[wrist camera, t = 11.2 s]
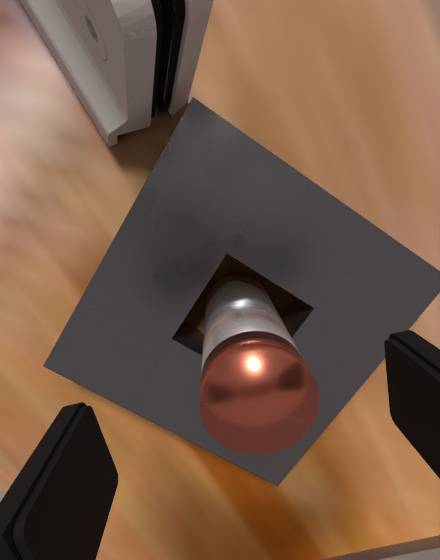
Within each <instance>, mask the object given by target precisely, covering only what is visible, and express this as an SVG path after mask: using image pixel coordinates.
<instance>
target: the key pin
mask: <svg viewBox="0 0 440 560" xmlns="http://www.w3.org/2000/svg"><path fill="white" fill-rule="evenodd" d="M318 409H319V391H318V387H317V384H316V382H315V380H314V378H313V376H312V374H311V372H310V370H309V369H308V367H307V365H306V363H305V361H304V360H303V358H302V356H301V354H300V352H299V351H298V349H297V347H296V345H295V343H294V342H293V340H292V338H291V336H290V334H289V332H288V331H287V329H286V327H285V325H284V323H283V322H282V320H281V318H280V316H279V314H278V313H277V311H276V309H275V307H274V305H273V304H272V302H271V300H270V298H269V296H268V294H267V293H266V291H265V289H264V288H263V286H262V285H261V284H260V283H259V282H258V281H256V280H255V279H253V278H251V277H248V276H244V275H232V276H228V277H225V278H223V279H221V280H219V281H218V282H217V283H216V284H215V285H214V286H213V287H212V288H211V290H210V291H209V293H208V296H207V300H206V310H205V325H204V340H203V355H202V369H201V384H200V399H199V410H200V416H201V419H202V422H203V424H204V426H205V428H206V430H207V431H208V432H209V434H210V435H211V436H212V437H213V438H214V439H215V440H216V441H217V442H218V443H220V444H221V445H223V446H224V447H226V448H228V449H230V450H233V451H235V452H239V453H243V454H249V455H264V454H271V453H275V452H278V451H281V450H284V449H286V448H288V447H290V446H292V445H293V444H295V443H296V442H298V441H299V440H300V439H301V438H302V437H303V436H304V435H305V434H306V433H307V432H308V431H309V429H310V428H311V427H312V425H313V423H314V421H315V419H316V416H317V414H318Z"/></svg>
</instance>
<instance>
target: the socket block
mask: <svg viewBox="0 0 440 560" xmlns="http://www.w3.org/2000/svg"><path fill="white" fill-rule="evenodd" d="M226 254H229V255H230V256H232V257H234V258H235V259H237V260H238V261H240V262H242V263H243V264H245V265H246V266H248V267H249V268H251V269H253V270H254V271H256V272H257V273H259V274H261V275H262V276H264V277H265V278H267V279H269V280H270V281H272V282H273V283H275V284H276V285H278V286H280V287H281V288H283V289H284V290H286V291H288V292H289V293H291V294H292V295H294V296H296V298H295V299H294V300H293V302H292V303H291V305H290V306H289V307H288V309H287V310H286V311H285V313H284V314H283V316H282V317H281V320H282V322H283V323H284V325H285V327H286V329H287V331H288V332H289V334H290V336H291V338H292V340H293V342H294V343H295V345H296V347H297V349H298V351H299V352H300V354H301V356H302V358H303V360H304V361H305V363H306V365H307V367H308V369H309V370H310V372H311V374H312V376H313V378H314V380H315V382H316V384H317V387H318V391H319V409H318V414H317V416H316V419H315V421H314V423H313V425H312V427H311V428H310V429H309V431H308V432H307V433H306V434H305V435H304V436H303V437H302V438H301V439H300V440H299V441H298V442H296V443H295V444H293V445H292V446H290V447H288V448H286V449H284V450H281V451H278V452H275V453H271V454H264V455H249V454H243V453H239V452H235V451H233V450H230V449H228V448H226V447H224V446H223V445H221V444H220V443H218V442H217V441H216V440H215V439H214V438H213V437H212V436H211V435H210V434H209V432H208V431H207V430H206V428H205V426H204V424H203V422H202V419H201V416H200V410H199V399H200V384H201V369H202V355H203V340H204V333H202V332H200V331H198V330H197V329H195V328H193V327H191V326H190V325H188V324H186V323H185V322H183V320H184V319H185V317H186V316H187V314H188V313H189V311H190V310H191V308H192V306H193V305H194V303H195V302H196V300H197V299H198V297H199V296H200V294H201V293H202V291H203V290H204V288H205V286H206V285H207V283H208V282H209V280H210V279H211V277H212V276H213V274H214V273H215V271H216V270H217V268H218V266H219V265H220V263H221V262H222V260H223V259H224V257H225V256H226ZM439 293H440V271H439V270H437V269H436V268H434V267H433V266H432V265H430V264H429V263H427V262H426V261H425V260H423V259H422V258H420V257H419V256H417V255H416V254H415V253H413V252H412V251H410V250H409V249H408V248H406V247H405V246H403V245H402V244H400V243H399V242H398V241H396V240H395V239H393V238H392V237H391V236H389V235H388V234H386V233H385V232H383V231H382V230H381V229H379V228H378V227H376V226H375V225H373V224H372V223H371V222H369V221H368V220H366V219H365V218H364V217H362V216H361V215H359V214H358V213H356V212H355V211H354V210H352V209H351V208H349V207H348V206H347V205H345V204H344V203H342V202H341V201H339V200H338V199H337V198H335V197H334V196H332V195H331V194H330V193H328V192H327V191H325V190H324V189H322V188H321V187H320V186H318V185H317V184H315V183H314V182H312V181H311V180H310V179H308V178H307V177H305V176H304V175H303V174H301V173H300V172H298V171H297V170H295V169H294V168H293V167H291V166H290V165H288V164H287V163H286V162H284V161H283V160H281V159H280V158H278V157H277V156H276V155H274V154H273V153H271V152H270V151H269V150H267V149H266V148H264V147H263V146H261V145H260V144H259V143H257V142H256V141H254V140H253V139H252V138H250V137H249V136H247V135H246V134H244V133H243V132H242V131H240V130H239V129H237V128H236V127H234V126H233V125H232V124H230V123H229V122H227V121H226V120H225V119H223V118H222V117H220V116H219V115H217V114H216V113H215V112H213V111H212V110H210V109H209V108H208V107H206V106H205V105H203V104H202V103H200V102H199V101H198V100H196V99H195V98H192V100H191V101H190V103H189V105H188V107H187V109H186V110H185V112H184V114H183V116H182V118H181V119H180V121H179V123H178V125H177V127H176V128H175V130H174V132H173V134H172V136H171V137H170V139H169V141H168V143H167V145H166V146H165V148H164V150H163V152H162V154H161V155H160V157H159V159H158V161H157V163H156V164H155V166H154V168H153V170H152V172H151V173H150V175H149V177H148V179H147V181H146V182H145V184H144V186H143V188H142V190H141V191H140V193H139V195H138V197H137V198H136V200H135V202H134V204H133V206H132V207H131V209H130V211H129V213H128V215H127V216H126V218H125V220H124V222H123V224H122V225H121V227H120V229H119V231H118V233H117V234H116V236H115V238H114V240H113V242H112V243H111V245H110V247H109V249H108V251H107V252H106V254H105V256H104V258H103V260H102V261H101V263H100V265H99V267H98V269H97V270H96V272H95V274H94V276H93V278H92V279H91V281H90V283H89V285H88V287H87V288H86V290H85V292H84V294H83V296H82V297H81V299H80V301H79V303H78V305H77V306H76V308H75V310H74V312H73V314H72V315H71V317H70V319H69V321H68V323H67V324H66V326H65V328H64V330H63V331H62V333H61V335H60V337H59V339H58V340H57V342H56V344H55V346H54V348H53V349H52V351H51V353H50V355H49V357H48V358H47V360H46V362H45V364H44V367H46V368H48V369H50V370H52V371H54V372H56V373H57V374H59V375H61V376H63V377H65V378H67V379H69V380H71V381H73V382H75V383H77V384H79V385H81V386H83V387H85V388H87V389H89V390H91V391H93V392H95V393H97V394H99V395H101V396H103V397H104V398H106V399H108V400H110V401H112V402H114V403H116V404H118V405H120V406H122V407H124V408H126V409H128V410H130V411H132V412H134V413H136V414H138V415H140V416H142V417H144V418H146V419H148V420H150V421H151V422H153V423H155V424H157V425H159V426H161V427H163V428H165V429H167V430H169V431H171V432H173V433H175V434H177V435H179V436H181V437H183V438H185V439H187V440H189V441H191V442H193V443H195V444H197V445H198V446H200V447H202V448H204V449H206V450H208V451H210V452H212V453H214V454H216V455H218V456H220V457H222V458H224V459H226V460H228V461H230V462H232V463H234V464H236V465H238V466H240V467H242V468H244V469H245V470H247V471H249V472H251V473H253V474H255V475H257V476H259V477H261V478H263V479H265V480H267V481H269V482H271V483H273V484H275V485H277V486H278V485H279V484H280V483H281V482H282V480H283V479H284V478H285V477H286V476H287V474H288V473H289V472H290V471H291V470H292V468H293V467H294V466H295V465H296V464H297V462H298V461H299V460H300V459H301V458H302V456H303V455H304V454H305V453H306V452H307V450H308V449H309V448H310V447H311V446H312V444H313V443H314V442H315V441H316V440H317V438H318V437H319V436H320V435H321V434H322V432H323V431H324V430H325V429H326V428H327V426H328V425H329V424H330V423H331V422H332V421H333V419H334V418H335V417H336V416H337V415H338V413H339V412H340V411H341V410H342V409H343V407H344V406H345V405H346V404H347V403H348V401H349V400H350V399H351V398H352V397H353V395H354V394H355V393H356V392H357V391H358V389H359V388H360V387H361V386H362V385H363V383H364V382H365V381H366V380H367V379H368V377H369V376H370V375H371V374H372V373H373V371H374V370H375V369H376V368H377V367H378V365H379V364H380V363H381V362H382V361H383V359H384V358H385V347H384V342H385V340H388V339H389V335H390V334H393V333H397V332H402V331H406V330H409V328H410V327H411V326H412V325H413V324H414V322H415V321H416V320H417V319H418V318H419V316H420V315H421V314H422V313H423V312H424V310H425V309H426V308H427V307H428V306H429V304H430V303H431V302H432V301H433V300H434V298H435V297H436V296H437V295H438V294H439Z"/></svg>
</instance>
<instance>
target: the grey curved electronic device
mask: <svg viewBox="0 0 440 560" xmlns="http://www.w3.org/2000/svg"><path fill="white" fill-rule="evenodd" d="M19 1H20V2H21V4H22V6H23V7H24V9H25V11H26V12H27V14H28V16H29V17H30V19H31V21H32V22H33V24H34V26H35V27H36V29H37V30H38V32H39V34H40V35H41V37H42V39H43V40H44V42H45V44H46V45H47V47H48V49H49V50H50V52H51V53H52V55H53V57H54V58H55V60H56V62H57V63H58V65H59V67H60V68H61V70H62V72H63V73H64V75H65V77H66V78H67V80H68V81H69V83H70V85H71V86H72V88H73V90H74V91H75V93H76V95H77V96H78V98H79V100H80V101H81V103H82V105H83V106H84V108H85V109H86V111H87V113H88V114H89V116H90V118H91V119H92V121H93V123H94V124H95V126H96V128H97V129H98V131H99V132H100V134H101V136H102V137H103V139H104V141H105V142H106V144H107V146H108V147H111V146H114V145H116V144H117V136H118V135H121V134H125V133H129V132H132V131H136V130H140V129H144V128H148V127H150V124H151V117H154V116H155V107H156V102H157V103H158V105H159V107H160V109H161V111H162V112H164V111H166V110H168V111H169V113H170V115H171V116H172V115H174V114H175V113H176V112H177V111H178V110H180V109H181V108H182V107H183V106H184V105H185V104H186V103H187V101H188V97H189V94H190V90H191V86H192V82H193V78H194V74H195V70H196V67H197V63H198V59H199V55H200V51H201V47H202V43H203V39H204V36H205V32H206V28H207V24H208V20H209V16H210V12H211V8H212V4H213V0H19Z"/></svg>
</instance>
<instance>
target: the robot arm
mask: <svg viewBox="0 0 440 560" xmlns="http://www.w3.org/2000/svg"><path fill="white" fill-rule="evenodd" d="M384 347H385V359H386V371H387V382H388V394H389V406H390V414H391V417H392V419H393V421H394V423H395V425H396V426H397V427H398V428H399V430H400V431H401V432H402V433H403V434H404V436H405V437H406V438H407V439H408V441H409V442H410V443H411V444H412V445H413V447H414V448H415V449H416V450H417V452H418V453H419V454H420V455H421V456H422V458H423V459H424V460H425V461H426V462H427V464H428V465H429V466H430V467H431V469H432V470H433V471H434V472H435V473H436V475H437V476H438V477H439V478H440V349H438V348H437V347H435V346H434V345H432V344H431V343H429V342H428V341H426V340H425V339H423V338H422V337H421V336H419V335H418V334H416V333H415V332H413V331H411V330H406V331H402V332H397V333H393V334H390V335H389V339H388V340H385V342H384ZM117 484H118V473H117V470H116V467H115V465H114V462H113V460H112V457H111V455H110V452H109V450H108V447H107V444H106V442H105V439H104V437H103V434H102V432H101V429H100V426H99V424H98V421H97V419H96V416H95V414H94V411H93V409H92V407H91V406H86V404H85V403H83V402H82V403H77V404H73V405H68V406H65V407H63V408H62V409H61V411H60V412H59V414H58V415H57V417H56V418H55V420H54V421H53V423H52V424H51V426H50V427H49V429H48V430H47V432H46V433H45V435H44V436H43V438H42V440H41V441H40V443H39V444H38V446H37V447H36V449H35V450H34V452H33V453H32V455H31V456H30V458H29V459H28V461H27V462H26V464H25V465H24V467H23V468H22V470H21V472H20V473H19V475H18V476H17V478H16V479H15V481H14V482H13V484H12V485H11V487H10V488H9V490H8V491H7V493H6V494H5V496H4V497H3V499H2V501H1V502H0V560H95V559H96V556H97V553H98V549H99V546H100V542H101V539H102V536H103V532H104V529H105V525H106V522H107V519H108V515H109V512H110V509H111V505H112V502H113V498H114V495H115V492H116V488H117ZM322 560H440V535H439V536H434V537H429V538H424V539H419V540H414V541H409V542H405V543H400V544H395V545H390V546H385V547H380V548H375V549H371V550H366V551H361V552H356V553H351V554H346V555H342V556H337V557H332V558H327V559H322Z"/></svg>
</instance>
